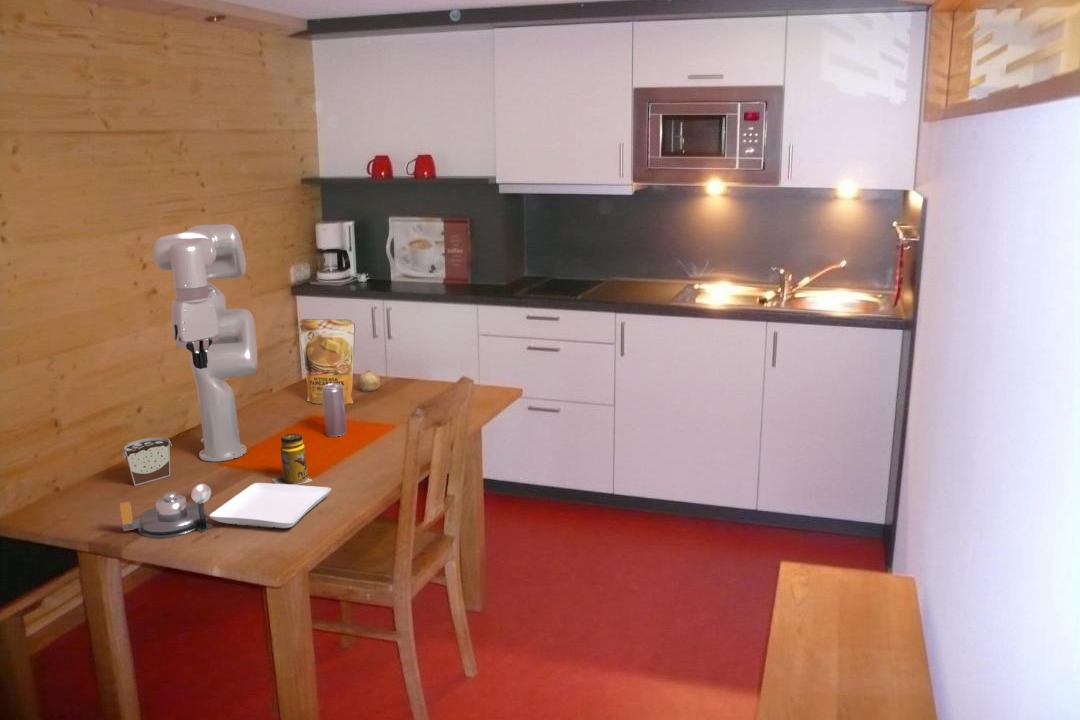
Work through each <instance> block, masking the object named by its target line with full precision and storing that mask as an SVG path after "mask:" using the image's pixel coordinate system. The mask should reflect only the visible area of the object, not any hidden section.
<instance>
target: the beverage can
mask: <svg viewBox="0 0 1080 720" xmlns="http://www.w3.org/2000/svg"><path fill="white" fill-rule="evenodd" d="M322 388H323V389H322V395H323V404H322V405H323V416H324V427H325V434H326V436H328V437H329V436H331V437H330V438H338V437H337V436H340V437H342V435H343V436H345V435H346V433H347V422H346V412H345V411H346V410H345V408H346V407H345V405H344V396H343V388H342V385H341V384H338V383H332V384H326V385H324V386H323V387H322ZM344 434H345V435H344Z"/></svg>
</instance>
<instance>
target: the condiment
mask: <svg viewBox="0 0 1080 720" xmlns="http://www.w3.org/2000/svg"><path fill="white" fill-rule="evenodd" d="M280 440H281V444H280V445H281V447H280V458H281V467H282V476H281V477H275V478H271V480H272V482H274V484H287V485H301V484H305V483H310V482H313V479H312V478H310V477H309V478H310V479H309V478H307V476H308V467H307V457H306V448H305V444H304V441H303V435H302V434H301V433H294V432H293V433H286V434H284V435H282V436H281V438H280Z"/></svg>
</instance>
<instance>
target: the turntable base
mask: <svg viewBox="0 0 1080 720" xmlns="http://www.w3.org/2000/svg"><path fill="white" fill-rule="evenodd" d="M205 519H206V523H208V521H209V515H208V514H207V513H206V512H205ZM199 525H201V524H199ZM197 526H198V525H197ZM195 530H196V528H194V527H193V528H191V529H188V530H185V531H182V532H178V533H172V534H161V535H157V534H149V533H146V532H144V531H142V530H141V528H138V533H139V534H140V535H141V536H142V535H143V537H146V538H149V539H170V538H175V537H176V536H177V537H181V536H184V534H185V535H188V534H190V532H191V533H193V532H195ZM192 531H193V532H192ZM196 531H197V530H196ZM187 533H188V534H187Z"/></svg>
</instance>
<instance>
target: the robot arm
mask: <svg viewBox="0 0 1080 720" xmlns="http://www.w3.org/2000/svg"><path fill="white" fill-rule="evenodd" d="M152 258H153V261H154V263H155V265H156V267H157V268H158V269H159V270H162V271H171V272H172V279H173V288H174V295H175V300H173V301H172V304H171V332H172V338H173V340H174V341H176V342H175V346H176V348H177V349H178V348H179V349H185V350H188V351H189V352H190V355H189V363H190V368H191V371H192V375H193V378H194V382H195V387H196V393H197V399H198V400H197V401H198V408H199V413H200V415H199V417H200V423H201V430H202V438H200V442H201V443H202V444H203V446H204V447H203V449H202V450H200V451H199V453H198V454H199V458H200V460H202V461H205V462H215V463H217V462H227V461H230V460H234V458H235V459H237V458H240V457H242V456H244V455H245V454H246V453H247V451H248V450H247V446H246V445H245V444H243V443H241V441H240V434H239V433H240V431H239V423H238V414H237V406H236V398H235V397H236V396H235V392H234V390H233V387H232V386H231V385H230V384H229V383H228V382H227V381H226V380H224V379H228V378H229V379H230V378H238V377H240V378H241V377H249V376H252V375H254V374H255V373H256V372H257V370H258V364H259V362H258V346H257V334H256V333H257V332H256V323H255V319H254V316H253V314H252V313H251V311H249V310H248V309H246V308H229V309H227V301H226V300H227V299H226V296H225V294H224V293H223V292H222V291H221V290H220V289H219V288H218V287H216V286H215V285H214V284H212V283H211V282H209V280H223V279H225V280H226V279H238V278H241V277H243V276H244V275H245V273H246V270H247V262H246V256H245V251H244V247H243V242H242V238H241V235H240V233H239V231H238V229H237V228H236V227H235V226H234V225H233V224H230V223H222V224H221V223H220V224H198V225H194V226H192V227H190V228H188V229H187V230H186V231H181V232H177V233H174V234H173V233H172V234H168V235H163V236H161V237H159V238H157V240H156V241H155V242H154V244H153V249H152ZM243 454H244V455H243Z"/></svg>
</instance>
